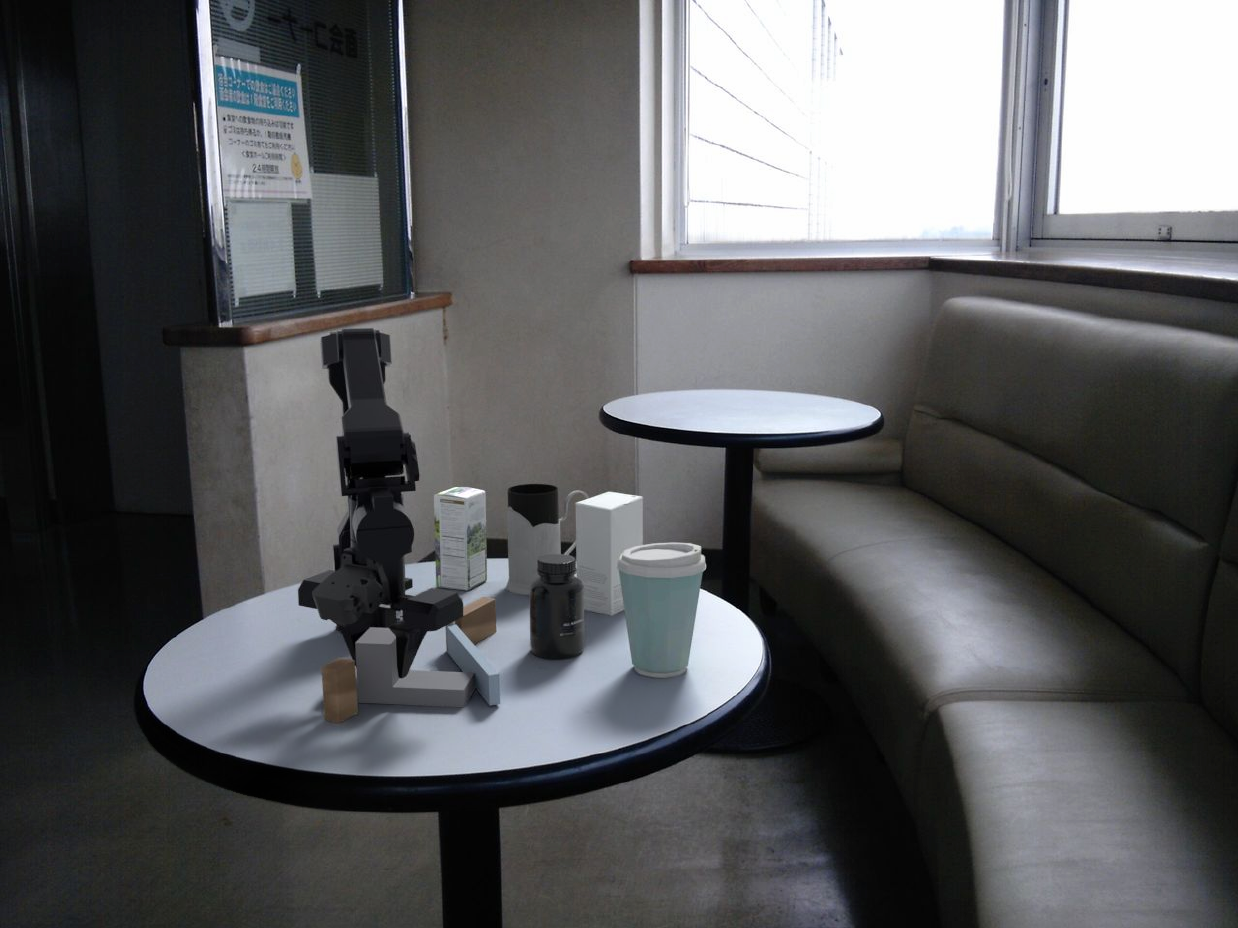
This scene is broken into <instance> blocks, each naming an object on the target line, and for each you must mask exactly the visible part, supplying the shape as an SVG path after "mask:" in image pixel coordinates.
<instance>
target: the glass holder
mask: <svg viewBox="0 0 1238 928" xmlns="http://www.w3.org/2000/svg"><path fill="white" fill-rule="evenodd" d="M576 494H582V495H583V496H584V498H585V500H586V499H589V498H590V497H589V495H588V494H587V493H586V492H585V491H582V490H574V491H571V492H570V493H569V494H568V495H567V496H566V497H565V500H564V503H563V515H562V517H561V518H560V514H559V512H560V511H559V509H560V507H559V487H557V486H556V485H552V484H549V483H548V484H546V483H525V484H518V485H517V484H516V485H514V486H510V487H508V488H507V508H506V521H507V522H506V523H507V524H506V525H507V526H506V527H507V529H506V530H507V557H508V558H507V559H508V582H507V583H506V585H505V589H506V590H507V591H508V592H510V593H513V594H516V595H523V596H530V585H531V583H532V582H533V581H534V580H535V579H536V578H538V577H539V575H538V574H537V559H538V558H539V557H541V556H544V555H550V554H562V553H561V549H562V548H561V547H562V546H561V523H562V522H564V521H565V520H566V519H567V517H568V509H569V508H568V507H569V502H570V500H571V498H572V497H573V496H574V495H576ZM574 549H576V540H575V541H574V542H573V543H572V545H570V547H569V548H568V549H566V551H565V552H564V554H565V555H570V553H572V551H573V550H574Z"/></svg>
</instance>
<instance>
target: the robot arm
mask: <svg viewBox="0 0 1238 928" xmlns="http://www.w3.org/2000/svg"><path fill="white" fill-rule="evenodd" d="M319 343H320V359H321V370H327V379H328V383H329V385H330V386H331V388H332V389H333V391H334V392H335V393H336V395H337V397H338V398H339V399H340V401H341V414H342V416H341V435H340V436H339V435H337V436H336V437H335V438H336V443H335V444H336V457H337V458H336V459H337V469H338V480H339V489H340V495H341V497H346V501H347V503H346V504H347V510H346V512H345V514H344V516H343V517H342V519H341V521H340V523H339V525H338V526H337V528H336V534H337V535H336V537H337V544H332V568H333V570H331V569H328V570H327V571H323V572H320V573H318V574H316V575H312V576H310V577H307V578H304V579H303V580H302V582H301V583H300V585H299V586H298V589H297V600H298V601H297V603H298V604H297V605H298V606H300V607H304V608H309V609H314V610H317V612H318V615H319V618H320V620H323V621H328V620H330V621H331V622H333V623H334V624H335V630H336V631H338V632H339V631H340V634H341V636H342V638H343V640H344V642H345V644H346V648H347V650H348V652H349V655H350V657H351V660H355V668H356V649H355V643H356V642H357V641H358V640H359V638H360V637H361V636H362V635H363V634H364V633H365V632H366V631H367V630H368V629H369V628H370V627H375V628H389V629H390V630H391V631H392V632H393V634H394V635H395V636H396V655H397V671H398V677H399V678H401V679H402V678H404V677H406V676H407V674H408V672H409V670H411V667H412V665H413V663H414V660H415V658H416V655H417V654H418V651H419V649H420V647H421V645H422V643H423V640H424V638H425V637H426V634H427V633H428V632H435V631H439V630H440V629H443V628H444V627H445V626H446V625H448V624H450V623H452V622H454V621H456V620H458V619H460V618H462V617H463V607H464V601H463V598H462V597H461V595H459V593H458V592H454V591H449V590H444V589H440V588H439V589H438V588H433V587H431V588H428V589H427V590H425V591H422V592H420V593H417V594H416V595H411V594H406V591H408V590H410V589H413V585H414V584H413V582H414V581H413V578H409V577H406V555H408V554H411V553H412V552H413V543H414V541H415V529H414V526H413V523H412V520H411V519H410V516H409V515H408V513H407V509H406V507H404V495H403V494H402V493H406V492H409V493H410V492H416V488H417V487H416V486H417V485H416V482H420V469H419V463H418V455H417V448H416V443H415V441H413V440H412V435H411V434H410V432H409V431H408V432H404V429H403V427H404V426H403V424H402V419H401V415H400V413H399V412H398V411H396V410H395V409H393V408H392V407H391V406H390V405H388V403H387V398H386V391H385V386H384V385H385V383H386V368H387V367H388V368H389V367H390V366H391V365H392V360H393V359H392V349H391V335H390V334H388V333H387V334H386V333H384V332H380V330H379V329H375V328H374V327H362V328H361V327H358V328H342V329H341V330H337V331H330V332H329V334H327V335H323V336H321V337H320V342H319ZM404 469H405V470H404ZM404 473H406V476H405V475H403V474H404ZM406 479H407V480H406ZM397 612H400V617H397Z"/></svg>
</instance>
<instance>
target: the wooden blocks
mask: <svg viewBox="0 0 1238 928" xmlns="http://www.w3.org/2000/svg"><path fill="white" fill-rule="evenodd" d="M496 602H497V601H496V598H492V597H491V598H490V597H484V596H482V597H480V598H478V599H475V600H474V601H472V602H471V603H468V604H466V605H463V617H462V618H460V619H458V620H456V621H455V625H457V626H458V627H459V628H460V629H461V631H462V632H463V633H464V634H465V635H466V636H467V637H468V639H469V640H470V641H471V642H472V643H473V644H474V645H476V644H478V643H480V642H481V641H483V640H485V639H486V638H488V637H490V636H491V635H493V634H495V633H497V607H496ZM355 668H356V667H355V660H353V659H350V658H343V657H338V658H336V659H334V660H332V661H330V662H328V663H325V664H324V665H322V666H321V668H320V669H321V670H320V671H321V683H322V698H323V701H322V702H323V709H324V710H323V713H324V714H323V715H324V720H325V721H327V722H328V721H329V722H332V723H338V724H341V723H342V722H345V720H347V719H349V718H351V717H353V716H354V715H356V714H357V713H358V703H357V692H356V675H355Z"/></svg>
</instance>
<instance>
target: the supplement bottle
mask: <svg viewBox="0 0 1238 928" xmlns="http://www.w3.org/2000/svg"><path fill="white" fill-rule="evenodd" d="M537 574H538V575H539V577H538V578H536V579H535V580H534V581H533V582H532V583H531V585H530V595H529V640H530V642H529V643H530V645H529V647H530V650H531V652H532V654H534V655H535V656H537V657H539V658H542V659H549V660H565V659H570V658H574V657H577V656H579V655H580V654H581V653H582V652H583V651H584V648H585V610H584V585H583V583H582V582H581V580H580V579H578V578H577V576H575V575H577V570H576V556H575V557H574V556H573V555H570V554H569V555H565V553H563V554H562V553H561V554H550V555H544V556H541V557H539V558H538V559H537Z"/></svg>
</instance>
